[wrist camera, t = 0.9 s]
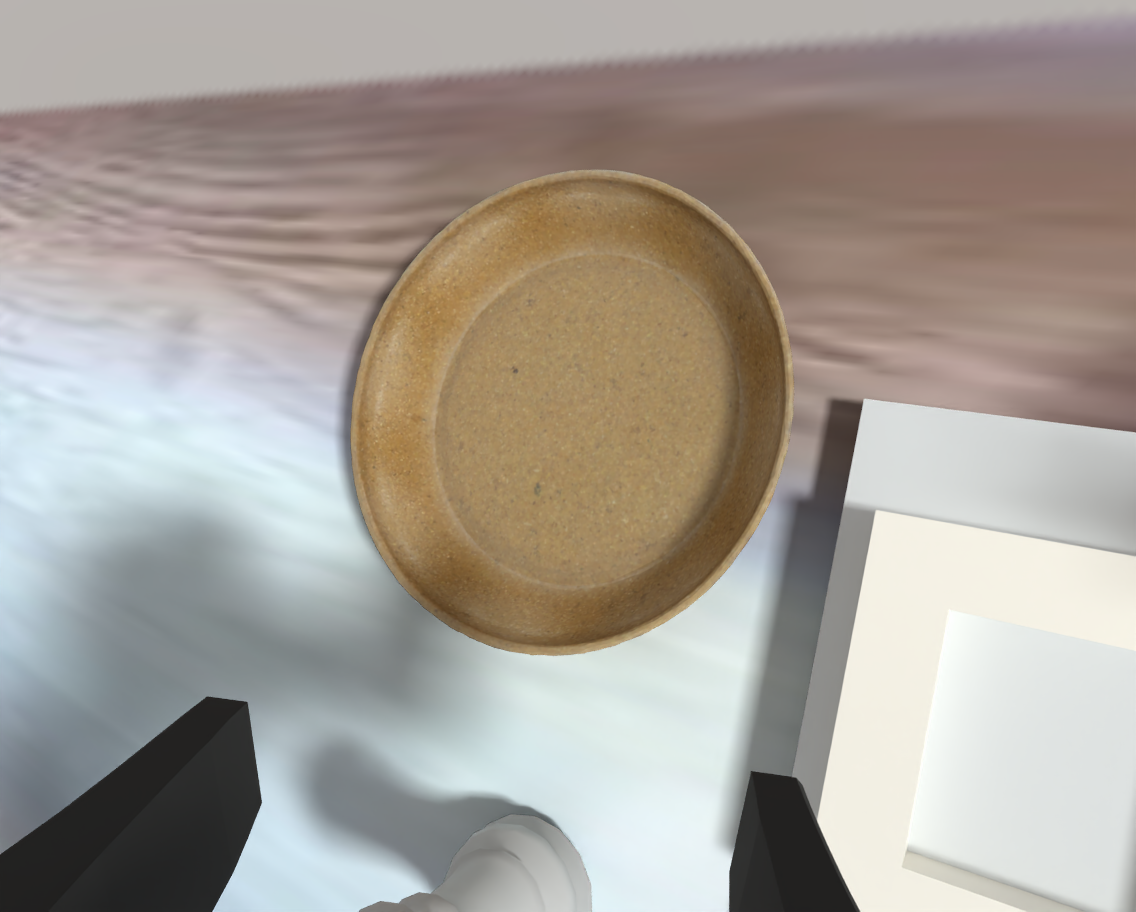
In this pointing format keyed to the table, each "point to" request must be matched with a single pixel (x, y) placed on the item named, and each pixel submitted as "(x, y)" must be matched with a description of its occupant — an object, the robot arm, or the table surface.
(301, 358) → the table surface
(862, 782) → the holder stand
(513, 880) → the rook chess piece
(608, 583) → the plant saucer
